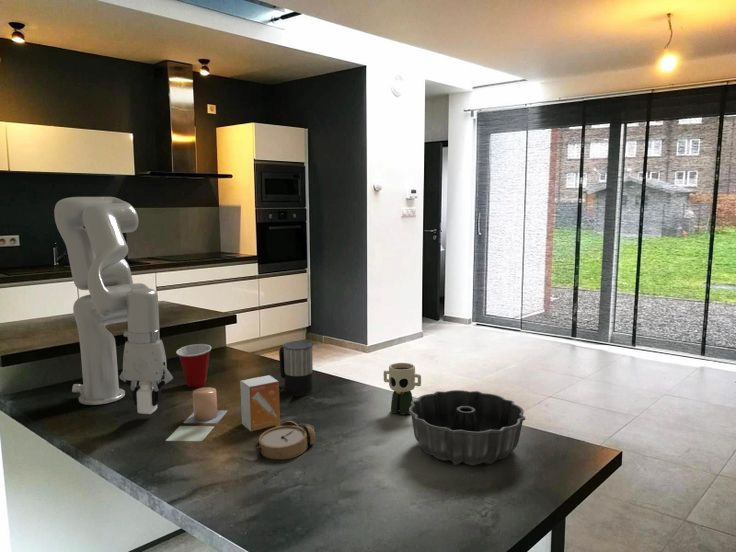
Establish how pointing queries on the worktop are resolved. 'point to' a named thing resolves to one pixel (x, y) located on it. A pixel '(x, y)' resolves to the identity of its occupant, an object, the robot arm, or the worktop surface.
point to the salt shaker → (145, 398)
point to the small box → (260, 402)
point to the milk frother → (297, 367)
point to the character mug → (402, 385)
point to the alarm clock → (286, 440)
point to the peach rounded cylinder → (205, 404)
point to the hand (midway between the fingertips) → (147, 402)
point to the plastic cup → (195, 363)
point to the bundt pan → (466, 426)
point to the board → (194, 429)
